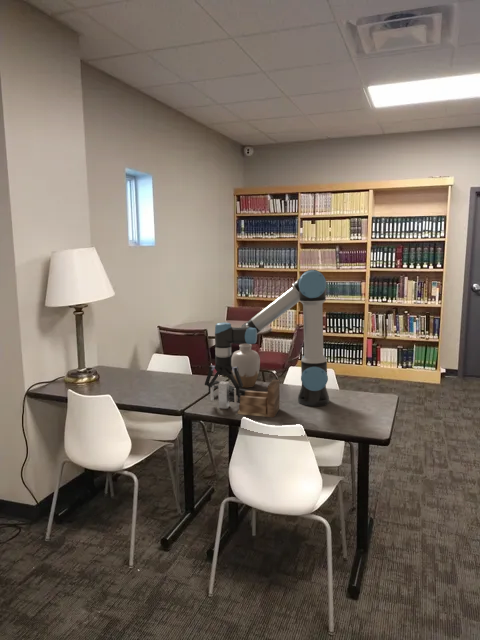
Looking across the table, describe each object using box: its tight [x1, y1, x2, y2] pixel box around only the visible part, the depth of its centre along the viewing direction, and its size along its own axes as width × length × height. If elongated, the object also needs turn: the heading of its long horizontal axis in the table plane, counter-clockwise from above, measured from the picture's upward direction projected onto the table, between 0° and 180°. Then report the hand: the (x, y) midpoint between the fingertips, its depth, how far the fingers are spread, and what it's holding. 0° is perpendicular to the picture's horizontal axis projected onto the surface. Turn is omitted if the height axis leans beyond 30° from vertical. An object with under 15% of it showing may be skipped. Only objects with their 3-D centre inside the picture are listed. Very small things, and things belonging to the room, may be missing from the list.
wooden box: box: [237, 379, 281, 418], centre depth 218 cm, size 17×12×14 cm
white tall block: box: [217, 380, 230, 410], centre depth 225 cm, size 4×4×12 cm
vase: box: [231, 344, 261, 389], centre depth 261 cm, size 16×16×23 cm
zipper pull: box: [212, 380, 251, 403], centre depth 240 cm, size 9×7×25 cm
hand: (224, 400), depth 226 cm, fingers open, 11 cm apart
